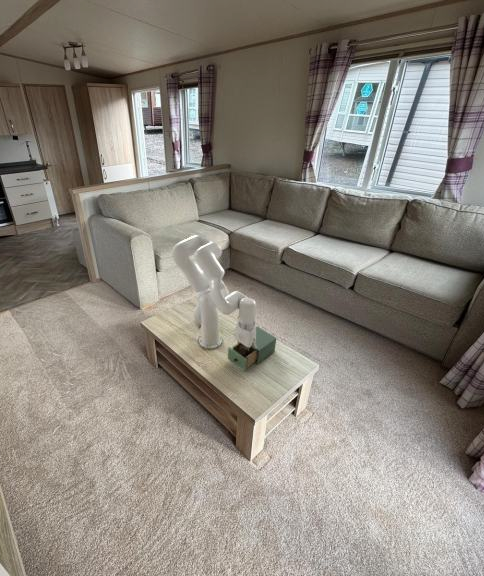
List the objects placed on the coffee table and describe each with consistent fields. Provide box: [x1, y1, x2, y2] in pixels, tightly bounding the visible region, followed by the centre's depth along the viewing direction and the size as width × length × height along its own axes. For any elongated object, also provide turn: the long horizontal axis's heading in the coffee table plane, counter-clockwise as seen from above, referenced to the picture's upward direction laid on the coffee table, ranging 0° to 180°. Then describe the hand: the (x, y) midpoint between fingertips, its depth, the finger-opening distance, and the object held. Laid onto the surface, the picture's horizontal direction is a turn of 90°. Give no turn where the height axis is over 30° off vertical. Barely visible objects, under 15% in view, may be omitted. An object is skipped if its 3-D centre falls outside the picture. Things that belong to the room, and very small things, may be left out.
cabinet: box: [252, 326, 277, 365], centre depth 156 cm, size 14×13×9 cm
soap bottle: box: [192, 287, 219, 326], centre depth 173 cm, size 17×12×29 cm
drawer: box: [227, 343, 258, 372], centre depth 150 cm, size 14×11×7 cm
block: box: [239, 344, 247, 356], centre depth 148 cm, size 4×4×4 cm
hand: (244, 351), depth 149 cm, fingers closed on block, 4 cm apart
